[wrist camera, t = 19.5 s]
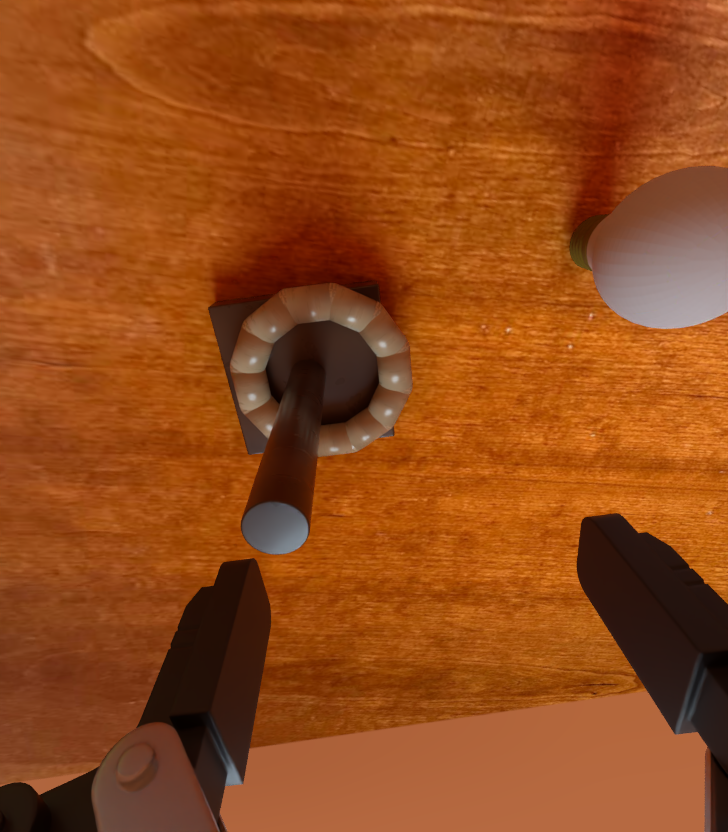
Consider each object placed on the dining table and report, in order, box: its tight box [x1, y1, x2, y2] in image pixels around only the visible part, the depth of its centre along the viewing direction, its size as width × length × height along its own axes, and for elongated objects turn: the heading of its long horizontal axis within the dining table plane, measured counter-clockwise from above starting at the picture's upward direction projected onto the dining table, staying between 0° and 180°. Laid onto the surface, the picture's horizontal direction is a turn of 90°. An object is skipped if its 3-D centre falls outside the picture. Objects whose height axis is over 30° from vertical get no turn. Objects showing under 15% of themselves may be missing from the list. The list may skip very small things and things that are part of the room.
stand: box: [208, 281, 394, 555], centre depth 19 cm, size 9×9×14 cm
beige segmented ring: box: [230, 283, 412, 457], centre depth 23 cm, size 10×10×2 cm
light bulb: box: [570, 166, 728, 329], centre depth 19 cm, size 6×6×10 cm
